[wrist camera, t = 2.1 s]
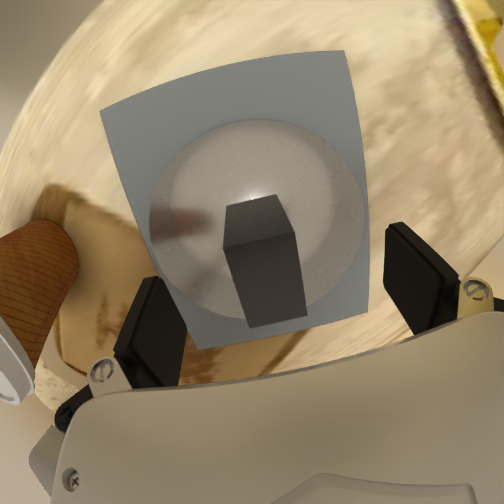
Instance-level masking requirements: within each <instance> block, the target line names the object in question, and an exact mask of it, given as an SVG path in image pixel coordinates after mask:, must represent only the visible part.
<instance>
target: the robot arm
mask: <svg viewBox="0 0 504 504" xmlns="http://www.w3.org/2000/svg"><path fill="white" fill-rule="evenodd" d="M458 276H459V275H458V274H457V272H456V271H455V270H454V269H453V268H452V267H451V266H450V265H449V264H448V263H447V262H446V261H445V260H444V259H443V258H442V257H441V256H440V255H439V254H438V253H436V252H435V251H434V250H433V249H432V248H431V247H430V246H429V245H428V244H427V243H426V242H425V241H424V240H423V239H422V238H420V237H419V236H418V235H417V234H416V233H415V232H414V231H413V230H411V229H410V228H409V227H408V226H407V225H406V224H405V223H403V222H397V223H393V224H390V225H389V227H388V228H387V229H386V231H385V257H384V274H383V284H384V288H385V290H386V291H387V293H388V294H389V296H390V297H391V299H392V300H393V302H394V303H395V305H396V306H397V308H398V310H399V311H400V313H401V314H402V316H403V318H404V319H405V321H406V322H407V324H408V326H409V327H410V329H411V331H412V332H413V334H414V336H411V337H408V338H405V339H403V340H400V341H397V342H394V343H391V344H388V345H385V346H382V347H379V348H376V349H373V350H369V351H366V352H363V353H359V354H356V355H352V356H349V357H345V358H341V359H337V360H334V361H330V362H326V363H322V364H318V365H313V366H309V367H304V368H300V369H295V370H290V371H285V372H280V373H275V374H269V375H264V376H258V377H251V378H245V379H238V380H231V381H223V382H215V383H205V384H195V385H183V386H178V383H179V376H180V370H181V364H182V358H183V352H184V346H185V341H186V335H187V326H186V323H185V321H184V320H183V318H182V316H181V314H180V312H179V310H178V308H177V306H176V304H175V302H174V300H173V298H172V296H171V294H170V292H169V290H168V288H167V286H166V284H165V282H164V280H163V279H162V278H160V279H159V277H158V276H153V277H148V278H144V279H143V281H142V283H141V285H140V288H139V290H138V292H137V294H136V296H135V299H134V301H133V303H132V305H131V308H130V310H129V312H128V315H127V317H126V319H125V322H124V324H123V326H122V329H121V331H120V334H119V336H118V339H117V341H116V344H115V346H114V349H113V351H114V352H115V354H114V357H112V356H104V357H101V358H99V359H97V360H96V361H95V362H94V363H93V364H92V365H91V366H90V368H89V370H88V373H87V380H88V383H89V384H88V385H87V386H85V387H84V388H83V389H81V390H80V391H79V392H77V393H76V394H75V395H74V396H72V397H71V398H70V399H68V400H67V401H66V402H64V403H63V404H62V405H61V406H60V407H59V408H58V409H57V411H56V414H55V427H54V426H53V425H51V426H50V428H49V429H48V430H47V431H46V433H45V434H44V435H43V437H42V438H41V439H40V440H39V442H38V443H37V444H36V446H35V447H34V448H33V449H32V451H31V453H30V455H29V464H30V467H31V469H32V470H33V472H34V473H35V475H36V477H37V478H38V480H39V481H40V483H41V484H42V485H43V487H44V489H45V490H46V491H47V492H48V494H49V495H50V497H51V504H504V300H502V299H499V298H495V297H493V292H492V288H491V287H490V285H489V284H488V283H487V282H485V281H484V280H482V279H479V278H475V277H469V278H466V279H464V280H463V281H462V282H461V281H460V280H459V279H458Z"/></svg>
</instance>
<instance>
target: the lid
mask: <svg viewBox="0 0 504 504" xmlns="http://www.w3.org/2000/svg"><path fill="white" fill-rule="evenodd" d="M363 227H364V208H363V201H362V196H361V192H360V189H359V186H358V183H357V181H356V179H355V177H354V174H353V173H352V171H351V169H350V168H349V166H348V165H347V163H346V162H345V160H344V159H343V158H342V157H341V156H340V155H339V153H338V152H337V151H336V150H335V149H334V148H332V147H331V146H330V145H329V144H328V143H327V142H325V141H324V140H322V139H321V138H319V137H318V136H316V135H315V134H313V133H311V132H309V131H307V130H304V129H302V128H300V127H297V126H294V125H290V124H287V123H283V122H276V121H268V120H246V121H240V122H234V123H230V124H227V125H224V126H221V127H218V128H216V129H214V130H212V131H210V132H207V133H205V134H204V135H202V136H200V137H199V138H197V139H196V140H194V141H193V142H191V143H190V144H189V145H187V146H186V147H185V148H184V149H183V150H182V151H181V152H180V153H179V154H178V155H176V157H175V158H174V159H173V160H172V161H171V163H170V164H169V165H168V167H167V168H166V169H165V171H164V173H163V174H162V176H161V178H160V180H159V182H158V184H157V187H156V189H155V192H154V194H153V198H152V202H151V206H150V215H149V231H150V239H151V244H152V248H153V251H154V254H155V257H156V259H157V261H158V263H159V265H160V267H161V269H162V271H163V272H164V274H165V275H166V277H167V278H168V279H169V281H170V282H171V283H172V284H173V285H174V286H175V287H176V289H177V290H178V291H180V292H181V293H182V294H183V295H184V296H185V297H187V298H188V299H190V300H191V301H193V302H194V303H196V304H197V305H199V306H201V307H203V308H205V309H207V310H209V311H212V312H215V313H217V314H220V315H224V316H228V317H233V318H240V319H246V321H247V323H248V326H249V329H250V328H255V327H260V326H265V325H269V324H274V323H278V322H283V321H287V320H292V319H296V318H300V317H304V316H308V314H307V307H306V306H308V305H310V304H312V303H314V302H315V301H317V300H318V299H320V298H321V297H323V296H324V295H325V294H326V293H328V292H329V291H330V290H331V289H332V288H333V287H334V286H335V285H336V284H337V283H338V282H339V281H340V280H341V278H342V277H343V276H344V275H345V273H346V272H347V271H348V269H349V267H350V265H351V264H352V262H353V260H354V258H355V256H356V254H357V251H358V249H359V245H360V242H361V238H362V233H363Z"/></svg>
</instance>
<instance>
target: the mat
mask: <svg viewBox="0 0 504 504" xmlns="http://www.w3.org/2000/svg"><path fill="white" fill-rule="evenodd" d="M100 114H101V118H102V122H103V125H104V129H105V132H106V136H107V139H108V142H109V146H110V149H111V152H112V155H113V158H114V161H115V164H116V167H117V170H118V173H119V176H120V179H121V182H122V185H123V188H124V190H125V193H126V196H127V199H128V201H129V204H130V207H131V209H132V212H133V214H134V217H135V219H136V222H137V224H138V227H139V229H140V232H141V234H142V237H143V239H144V241H145V244H146V246H147V248H148V251H149V253H150V255H151V258H152V260H153V262H154V264H155V266H156V269H157V271H158V273H159V275H160V277H161V278H162V279H163V280H164V282H165V284H166V286H167V288H168V290H169V292H170V294H171V296H172V298H173V300H174V302H175V304H176V306H177V308H178V310H179V312H180V314H181V316H182V318H183V320H184V321H185V323H186V326H187V331H188V333H189V335H190V337H191V338H192V340H193V342H194V344H195V346H196V348H197V349H198V350H201V349H208V348H214V347H221V346H227V345H232V344H238V343H243V342H249V341H254V340H259V339H264V338H269V337H273V336H278V335H282V334H287V333H291V332H296V331H300V330H304V329H308V328H312V327H316V326H320V325H324V324H328V323H331V322H335V321H339V320H342V319H346V318H349V317H353V316H356V315H360V314H363V313H366V312H368V297H369V263H370V247H369V212H368V195H367V182H366V171H365V162H364V153H363V145H362V138H361V131H360V124H359V118H358V112H357V106H356V101H355V96H354V91H353V86H352V81H351V77H350V72H349V68H348V64H347V60H346V56H345V52H344V50H340V51H317V52H304V53H294V54H286V55H278V56H271V57H265V58H259V59H253V60H248V61H243V62H238V63H233V64H229V65H225V66H220V67H216V68H213V69H209V70H205V71H201V72H198V73H194V74H191V75H188V76H185V77H182V78H178V79H175V80H172V81H170V82H167V83H164V84H161V85H158V86H156V87H153V88H150V89H148V90H145V91H143V92H140V93H138V94H135V95H133V96H131V97H128V98H126V99H124V100H122V101H119V102H117V103H115V104H113V105H111V106H109V107H107V108H105V109H103V110H101V111H100ZM246 120H268V121H276V122H283V123H287V124H290V125H294V126H297V127H300V128H302V129H304V130H307V131H309V132H311V133H313V134H315V135H316V136H318V137H319V138H321V139H322V140H324V141H325V142H327V143H328V144H329V145H330V146H331V147H332V148H334V149H335V150H336V151H337V152H338V153H339V155H340V156H341V157H342V158H343V159H344V160H345V162H346V163H347V165H348V166H349V168H350V169H351V171H352V173H353V174H354V177H355V179H356V181H357V183H358V186H359V189H360V192H361V196H362V201H363V208H364V227H363V233H362V238H361V242H360V245H359V249H358V251H357V254H356V256H355V258H354V260H353V262H352V264H351V265H350V267H349V269H348V271H347V272H346V273H345V275H344V276H343V277H342V278H341V280H340V281H339V282H338V283H337V284H336V285H335V286H334V287H333V288H332V289H331V290H330V291H329V292H328V293H326V294H325V295H324V296H323V297H321V298H320V299H318V300H317V301H315V302H314V303H312V304H310V305H308V306H306V307H307V314H308V316H304V317H300V318H296V319H292V320H287V321H283V322H278V323H274V324H269V325H265V326H260V327H255V328H250V329H249V326H248V323H247V321H246V319H240V318H233V317H228V316H224V315H220V314H217V313H215V312H212V311H209V310H207V309H205V308H203V307H201V306H199V305H197V304H196V303H194V302H193V301H191V300H190V299H188V298H187V297H185V296H184V295H183V294H182V293H181V292H180V291H178V290H177V289H176V287H175V286H174V285H173V284H172V283H171V282H170V281H169V279H168V278H167V277H166V275H165V274H164V272H163V271H162V269H161V267H160V265H159V263H158V261H157V259H156V257H155V254H154V251H153V248H152V244H151V239H150V231H149V215H150V206H151V202H152V198H153V194H154V192H155V189H156V187H157V184H158V182H159V180H160V178H161V176H162V174H163V173H164V171H165V169H166V168H167V167H168V165H169V164H170V163H171V161H172V160H173V159H174V158H175V157H176V155H178V154H179V153H180V152H181V151H182V150H183V149H184V148H185V147H186V146H187V145H189V144H190V143H191V142H193V141H194V140H196V139H197V138H199V137H200V136H202V135H204V134H205V133H207V132H210V131H212V130H214V129H216V128H218V127H221V126H224V125H227V124H230V123H234V122H240V121H246Z"/></svg>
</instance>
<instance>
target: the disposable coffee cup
mask: <svg viewBox="0 0 504 504" xmlns="http://www.w3.org/2000/svg"><path fill="white" fill-rule="evenodd" d="M77 273H78V257H77V253H76V250H75V248H74V245H73V243H72V242H71V240H70V238H69V237H68V235H67V234H66V233H65V232H64V231H63V230H62V229H61V228H60V227H59V226H58V225H57V224H55V223H54V222H51V221H49V220H46V219H36V220H34V221H32V222H30V223H28V224H26V225H24V226H22V227H20V228H18V229H17V230H15V231H13V232H11V233H9V234H7V235H5V236H4V237H2V238H0V399H1V400H2V401H4V402H7V403H9V404H12V405H18V404H19V403H20V402H21V401H22V400H23V399H24V398H25V396H26V395H31V394H32V393H33V392H34V388H35V384H34V380H35V368H36V365H37V362H38V360H39V357H40V354H41V352H42V349H43V346H44V343H45V341H46V339H47V336H48V334H49V332H50V330H51V327H52V325H53V322H54V320H55V318H56V315H57V314H58V312H59V309H60V307H61V305H62V303H63V301H64V299H65V297H66V295H67V292H68V291H69V289H70V287H71V285H72V282H73V281H74V279H75V278H76V276H77Z"/></svg>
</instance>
